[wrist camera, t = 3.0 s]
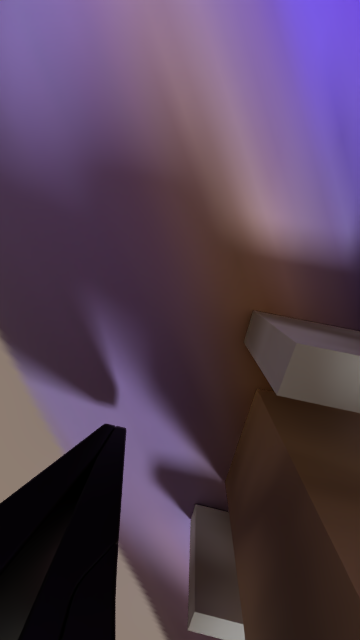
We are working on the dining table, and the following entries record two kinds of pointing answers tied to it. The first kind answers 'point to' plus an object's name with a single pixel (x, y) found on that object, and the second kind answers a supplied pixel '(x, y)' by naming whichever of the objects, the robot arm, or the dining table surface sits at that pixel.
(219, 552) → the trap lane
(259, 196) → the dining table surface
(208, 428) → the dining table surface
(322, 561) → the block
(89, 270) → the dining table surface
